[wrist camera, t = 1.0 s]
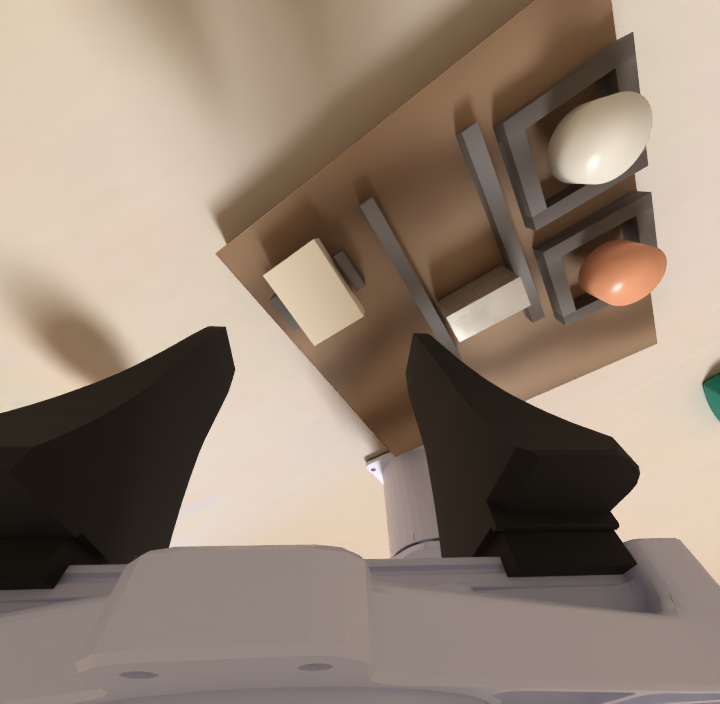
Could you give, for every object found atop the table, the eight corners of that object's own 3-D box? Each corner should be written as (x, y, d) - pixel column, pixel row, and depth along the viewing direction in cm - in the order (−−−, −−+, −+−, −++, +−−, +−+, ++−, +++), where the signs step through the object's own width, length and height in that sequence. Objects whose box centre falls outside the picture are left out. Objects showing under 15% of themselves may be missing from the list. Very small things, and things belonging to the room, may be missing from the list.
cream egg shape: (623, 156, 14) (656, 154, 13) (556, 197, 15) (579, 199, 14) (612, 82, 13) (647, 70, 11) (539, 132, 14) (562, 126, 12)
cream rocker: (365, 310, 18) (363, 316, 17) (318, 338, 19) (314, 346, 18) (319, 238, 17) (313, 238, 16) (271, 272, 18) (262, 275, 17)
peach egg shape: (641, 276, 17) (668, 286, 16) (584, 304, 18) (605, 316, 17) (633, 227, 16) (663, 232, 14) (572, 260, 17) (595, 268, 15)
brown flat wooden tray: (635, 330, 23) (676, 354, 20) (392, 440, 29) (397, 471, 26) (572, -26, 14) (634, -83, 11) (227, 246, 19) (204, 259, 16)
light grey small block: (511, 291, 19) (530, 305, 17) (448, 325, 20) (459, 342, 18) (501, 264, 18) (520, 276, 16) (436, 302, 19) (446, 317, 17)
